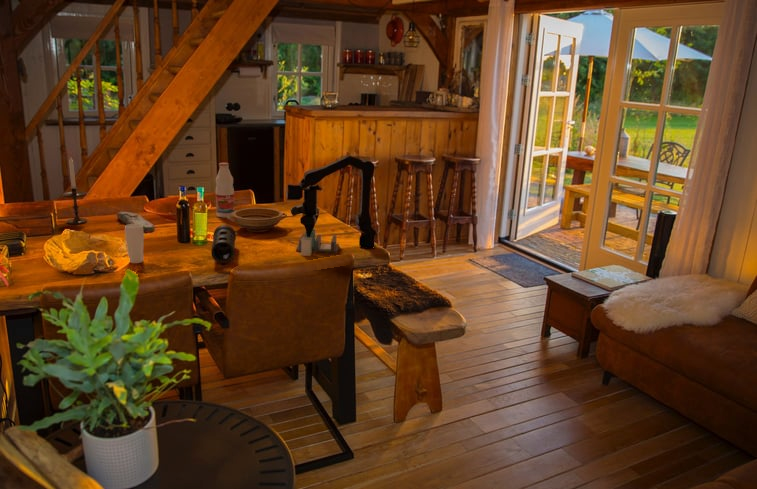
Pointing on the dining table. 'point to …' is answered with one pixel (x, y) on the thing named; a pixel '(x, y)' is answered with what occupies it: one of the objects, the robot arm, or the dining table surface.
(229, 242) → the muzzle brake
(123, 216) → the long grey stone
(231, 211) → the fruit juice
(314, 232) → the teal plug
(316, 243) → the slot rack
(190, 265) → the dining table surface
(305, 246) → the off-white plug
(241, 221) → the ceramic bowl
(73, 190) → the candlestick
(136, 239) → the drinking glass
